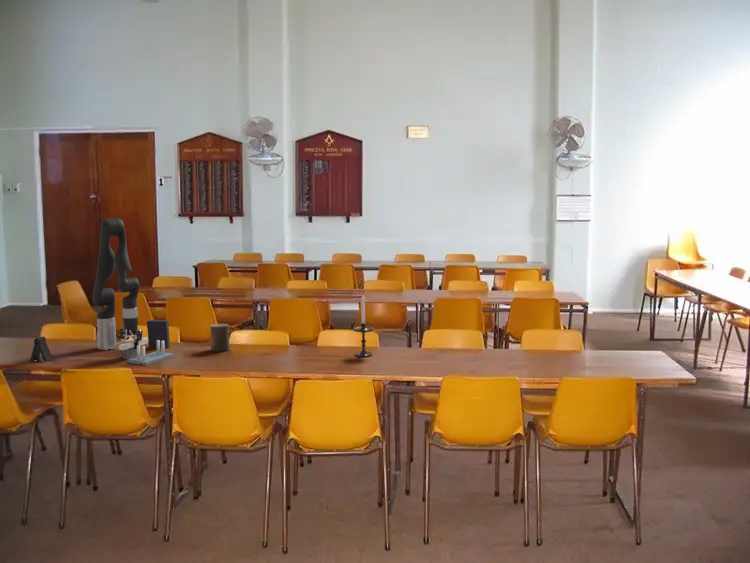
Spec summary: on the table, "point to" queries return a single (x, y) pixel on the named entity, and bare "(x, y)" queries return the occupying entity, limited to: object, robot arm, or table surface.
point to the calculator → (158, 332)
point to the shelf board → (129, 343)
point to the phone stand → (40, 350)
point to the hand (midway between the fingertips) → (132, 347)
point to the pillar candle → (219, 337)
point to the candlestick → (363, 330)
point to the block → (130, 353)
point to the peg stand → (151, 355)
